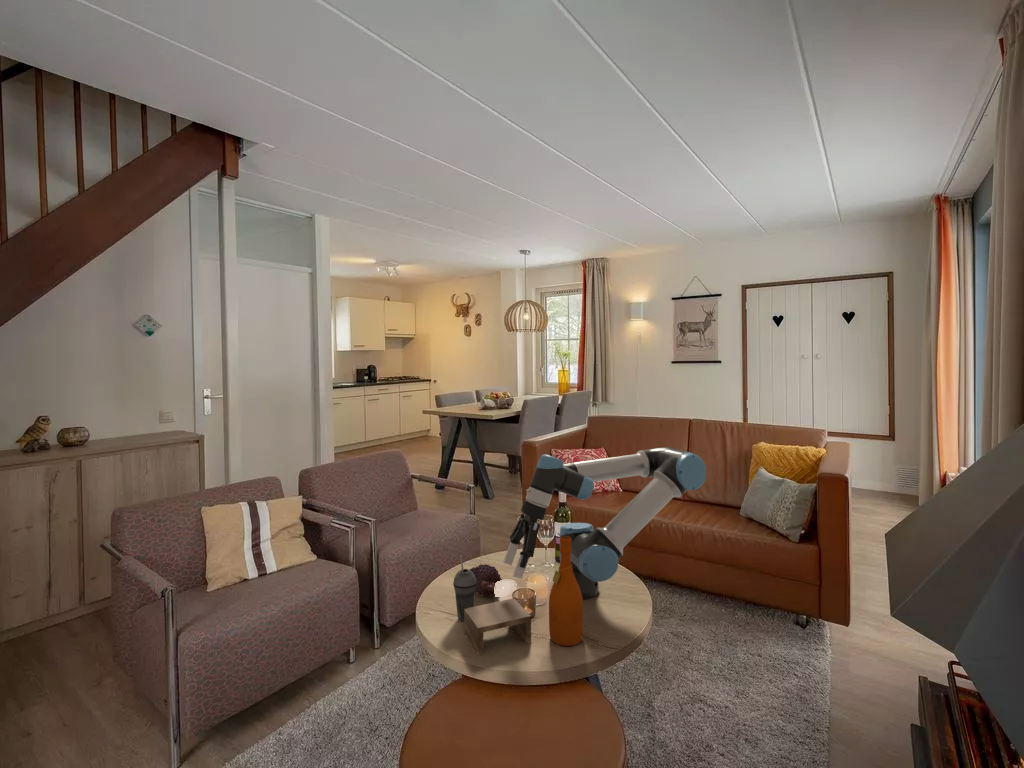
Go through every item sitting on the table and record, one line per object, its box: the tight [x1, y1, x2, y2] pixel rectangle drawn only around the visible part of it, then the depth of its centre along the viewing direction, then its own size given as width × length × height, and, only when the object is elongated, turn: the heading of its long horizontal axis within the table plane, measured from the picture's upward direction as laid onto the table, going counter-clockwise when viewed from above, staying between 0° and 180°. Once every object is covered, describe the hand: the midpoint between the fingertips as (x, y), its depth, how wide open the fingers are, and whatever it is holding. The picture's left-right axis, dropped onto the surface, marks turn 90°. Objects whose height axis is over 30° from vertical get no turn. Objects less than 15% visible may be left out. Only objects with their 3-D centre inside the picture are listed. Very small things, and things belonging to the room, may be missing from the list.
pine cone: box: [469, 563, 503, 598], centre depth 176 cm, size 18×10×10 cm, turn 37°
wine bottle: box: [548, 536, 584, 647], centre depth 147 cm, size 10×10×30 cm
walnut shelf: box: [463, 598, 532, 655], centre depth 148 cm, size 16×12×8 cm
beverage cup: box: [452, 555, 477, 624], centre depth 159 cm, size 7×7×20 cm
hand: (512, 570), depth 156 cm, fingers open, 13 cm apart
